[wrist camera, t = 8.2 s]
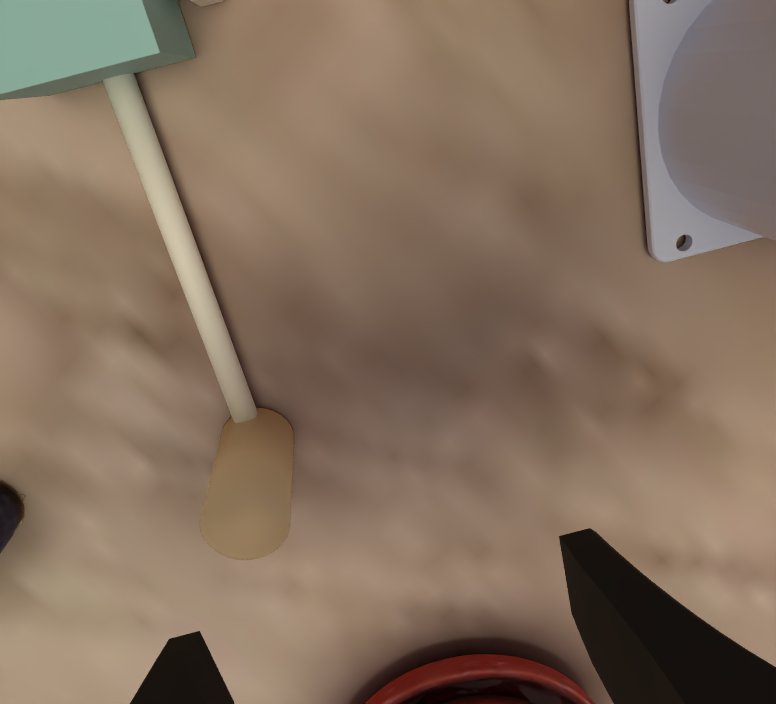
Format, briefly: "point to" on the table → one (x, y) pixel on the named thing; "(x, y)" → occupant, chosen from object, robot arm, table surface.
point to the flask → (9, 512)
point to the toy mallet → (116, 70)
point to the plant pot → (481, 683)
